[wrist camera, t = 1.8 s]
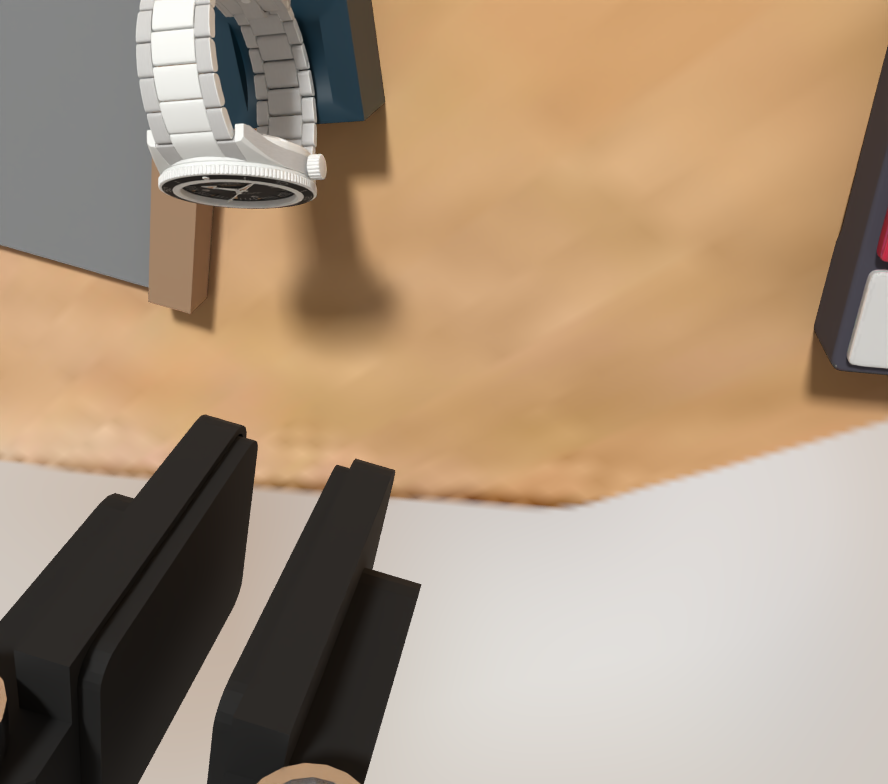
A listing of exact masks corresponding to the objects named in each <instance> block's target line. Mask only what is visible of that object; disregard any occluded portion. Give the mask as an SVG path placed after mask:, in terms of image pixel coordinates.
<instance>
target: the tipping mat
mask: <svg viewBox="0 0 888 784" xmlns="http://www.w3.org/2000/svg"><path fill="white" fill-rule="evenodd" d="M140 2H141V0H0V245H2V246H6V247H9V248H13V249H16V250H20V251H23V252H27V253H30V254H34V255H37V256H41V257H44V258H48V259H51V260H54V261H58V262H61V263H65V264H68V265H72V266H75V267H79V268H82V269H86V270H89V271H93V272H96V273H100V274H103V275H107V276H110V277H114V278H117V279H121V280H124V281H128V282H131V283H134V284H138V285H141V286H145V287H148V288H149V297H148V302H150V303H154V304H157V305H161V306H164V307H168V308H171V309H175V310H178V311H182V312H185V313H188V314H191V313H192V312H193V311H194V310H195V309H196V308H197V307H198V306H199V305H200V304H201V303H202V302H203V301H204V300H205V299H206V298H207V292H208V277H209V262H210V247H211V232H212V218H213V206H209V205H203V204H197V203H192V202H188V201H184V200H180V199H177V198H174V197H172V196H169V195H167V194H165V193H164V192H162V191H161V190H160V189H159V187H158V178H159V176H160V173H159V171H158V169H157V167H156V165H155V163H154V160H153V158H152V155H151V153H150V150H149V147H148V145H147V130H151V129H150V126H149V122H148V119H147V114H148V113H151V112H146V111H145V109H144V105H143V100H142V95H141V89H140V83H139V81H140V79H147V78H139V77H138V71H137V58H136V46H137V44H138V43H137V42H136V26H137V17H138V13H139V12H141V11H140ZM190 64H197V63H190ZM179 65H186V64H179ZM168 66H175V65H168ZM158 67H164V66H158ZM210 73H211V72H210ZM203 74H206V73H203ZM151 78H154V77H151ZM198 99H203V98H198ZM186 100H191V99H186ZM173 101H178V100H173ZM164 102H165V101H164ZM213 108H217V107H213ZM160 112H161V111H160Z"/></svg>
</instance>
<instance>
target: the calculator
mask: <svg viewBox="0 0 888 784" xmlns="http://www.w3.org/2000/svg"><path fill="white" fill-rule="evenodd" d="M814 330H815V333H816V335H817V337H818V339H819V341H820V343H821V345H822V347H823V349H824V351H825V353H826V355H827V356H828V358H829V360H830V362H831V364H832V366H833V367H834V368H835V369H837V370H840V371H848V372H859V373H870V374H882V375H888V47H887V51H886V55H885V59H884V62H883V66H882V70H881V74H880V78H879V82H878V86H877V90H876V94H875V98H874V102H873V106H872V110H871V114H870V118H869V122H868V126H867V130H866V134H865V138H864V142H863V146H862V150H861V154H860V158H859V162H858V166H857V170H856V174H855V178H854V182H853V186H852V190H851V194H850V198H849V202H848V206H847V210H846V214H845V218H844V222H843V226H842V230H841V233H840V235H839V237H838V239H837V241H836V244H835V248H834V252H833V255H832V259H831V263H830V267H829V271H828V274H827V278H826V282H825V286H824V290H823V293H822V297H821V301H820V305H819V309H818V312H817V316H816V320H815V324H814Z"/></svg>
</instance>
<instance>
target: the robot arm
mask: <svg viewBox="0 0 888 784" xmlns="http://www.w3.org/2000/svg"><path fill="white" fill-rule="evenodd" d="M246 433H247V432H246V427H244V426H242V425H239V424H236V423H232V422H229V421H225V420H222V419H219V418H215V417H212V416H208V415H202V416H200V417H199V418H198V419H197V421H196V422H195V423H194V424H193V426H192V427H191V428H190V429H189V431H188V432H187V433H186V434H185V436H184V437H183V438H182V439H181V441H180V442H179V443H178V444H177V446H176V447H175V448H174V449H173V451H172V452H171V453H170V454H169V456H168V457H167V458H166V459H165V461H164V462H163V463H162V464H161V466H160V467H159V468H158V469H157V471H156V472H155V473H154V474H153V476H152V477H151V478H150V479H149V481H148V482H147V483H146V484H145V486H144V487H143V488H142V489H141V491H140V492H139V493H138V495H137V496H136V497H135V498H134V499H133V498H130V497H127V496H123V495H120V494H116V493H114V494H112V495H110V496H107V498H105V499H104V500H103V501H102V502H101V503H100V504H99V505H98V506H97V508H96V509H95V510H94V511H93V512H92V513H91V515H90V516H89V517H88V518H87V519H86V521H85V522H84V523H83V524H82V526H80V528H79V529H78V530H77V531H76V532H75V534H74V535H73V536H72V537H71V538H70V539H69V541H68V542H67V543H66V544H65V545H64V546H63V548H62V549H61V550H60V551H59V552H58V554H57V555H56V556H55V557H54V558H53V559H52V561H51V562H50V563H49V564H48V565H47V567H46V568H45V569H44V570H43V571H42V572H41V574H40V575H39V576H38V577H37V578H36V580H35V581H34V582H33V583H32V584H31V586H30V587H29V588H28V589H27V590H26V591H25V593H24V594H23V595H22V596H21V597H20V598H19V600H18V601H17V602H16V603H15V604H14V606H13V607H12V608H11V609H10V610H9V611H8V613H7V614H6V615H5V616H4V617H3V618H2V620H1V621H0V784H138V783H139V781H140V779H141V777H142V775H143V773H144V772H145V770H146V768H147V766H148V764H149V762H150V760H151V759H152V757H153V755H154V753H155V751H156V749H157V748H158V746H159V744H160V742H161V740H162V738H163V736H164V735H165V733H166V731H167V729H168V727H169V725H170V723H171V722H172V720H173V718H174V716H175V714H176V712H177V711H178V709H179V707H180V705H181V703H182V701H183V699H184V698H185V696H186V694H187V692H188V690H189V688H190V687H191V685H192V682H193V681H194V679H195V677H196V675H197V674H198V672H199V670H200V668H201V666H202V664H203V662H204V660H205V659H206V657H207V655H208V653H209V651H210V650H211V648H212V646H213V644H214V642H215V640H216V639H217V636H218V635H219V633H220V631H221V629H222V627H223V625H224V624H225V622H226V620H227V618H228V616H229V614H230V613H231V611H232V609H233V607H234V605H235V602H236V600H237V597H238V594H239V592H240V588H241V584H242V577H243V569H244V560H245V552H246V543H247V534H248V526H249V518H250V509H251V501H252V493H253V484H254V476H255V467H256V459H257V450H258V444H257V442H256V441H254V440H251V439H248V438H246ZM394 476H395V470H393V469H389V468H386V467H382V466H379V465H375V464H372V463H369V462H365V461H362V460H358V459H355V460H354V461H353V463H352V465H351V467H350V468H346V467H343V466H339V465H336V466H335V468H334V469H333V471H332V473H331V475H330V477H329V479H328V481H327V483H326V485H325V487H324V489H323V491H322V493H321V496H320V498H319V500H318V502H317V504H316V506H315V508H314V510H313V512H312V514H311V516H310V518H309V520H308V522H307V524H306V526H305V528H304V530H303V532H302V534H301V536H300V538H299V540H298V542H297V544H296V546H295V548H294V550H293V552H292V554H291V556H290V558H289V560H288V562H287V564H286V566H285V568H284V570H283V572H282V574H281V576H280V578H279V580H278V582H277V584H276V586H275V588H274V590H273V592H272V594H271V596H270V598H269V600H268V602H267V604H266V606H265V608H264V610H263V612H262V614H261V616H260V618H259V620H258V622H257V624H256V626H255V628H254V630H253V632H252V634H251V636H250V638H249V640H248V642H247V645H246V646H245V648H244V650H243V652H242V654H241V657H240V658H239V660H238V662H237V664H236V666H235V668H234V670H233V672H232V674H231V676H230V678H229V681H228V683H227V685H226V687H225V689H224V692H223V695H222V697H221V700H220V703H219V706H218V709H217V713H216V716H215V720H214V725H213V733H212V743H211V753H210V761H209V763H210V764H209V771H208V780H207V784H364V781H365V778H366V774H367V771H368V767H369V764H370V761H371V757H372V754H373V750H374V747H375V743H376V740H377V736H378V733H379V729H380V726H381V723H382V719H383V716H384V712H385V709H386V705H387V702H388V698H389V695H390V692H391V688H392V685H393V681H394V677H395V674H396V671H397V667H398V664H399V661H400V657H401V654H402V650H403V647H404V643H405V639H406V636H407V632H408V629H409V626H410V622H411V618H412V616H413V612H414V609H415V605H416V601H417V598H418V595H419V591H420V587H421V584H418V583H415V582H412V581H408V580H405V579H402V578H398V577H395V576H392V575H388V574H385V573H382V572H378V571H375V570H372V569H373V565H374V560H375V556H376V552H377V548H378V544H379V540H380V535H381V531H382V527H383V522H384V519H385V514H386V510H387V506H388V502H389V498H390V493H391V489H392V485H393V481H394Z"/></svg>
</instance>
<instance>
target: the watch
mask: <svg viewBox="0 0 888 784" xmlns="http://www.w3.org/2000/svg"><path fill="white" fill-rule="evenodd" d="M140 11H141V12H139V13H138V17H137V26H136V42H137V43H138V44H137V46H136V58H137V71H138V77H139V78H147V79H140V81H139V83H140V89H141V95H142V100H143V105H144V109H145V111H146V112H151V113H148V114H147V119H148V122H149V126H150V129H151V130H147V145H148V147H149V150H150V153H151V155H152V158H153V160H154V163H155V165H156V167H157V169H158V171H159V173H160V176H159V178H158V187H159V189H160V190H161V191H162V192H164V193H165V194H167V195H169V196H172V197H174V198H177V199H180V200H184V201H188V202H192V203H197V204H203V205H209V206H218V207H228V208H247V209H264V208H281V207H289V206H295V205H300V204H303V203H306V202H309V201H311V200H313V199H314V198H315V197H316V196H317V186H316V180H323V179H325V177H326V174H327V165H326V161H325V158H324V156H323V155H322V154H315V152H316V150H315V148H316V146H317V125H316V124H324V123H339V122H353V121H365V120H366V119H367V118H368V117H369V116H370V115H371V114H372V113H374V112H375V111H376V110H377V109H378V108H379V107H380V106H381V105H382V104H384V103H385V97H384V90H383V82H382V75H381V68H380V60H379V53H378V46H377V38H376V31H375V24H374V16H373V9H372V2H371V0H141V2H140ZM190 63H197V64H190ZM179 64H186V65H179ZM168 65H175V66H168ZM158 66H164V67H158ZM210 72H211V73H210ZM203 73H206V74H203ZM151 77H154V78H151ZM198 98H203V99H198ZM186 99H191V100H186ZM173 100H178V101H173ZM164 101H165V102H164ZM213 107H217V108H213ZM160 111H161V112H160ZM253 128H257V131H256V130H254V129H253Z"/></svg>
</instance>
